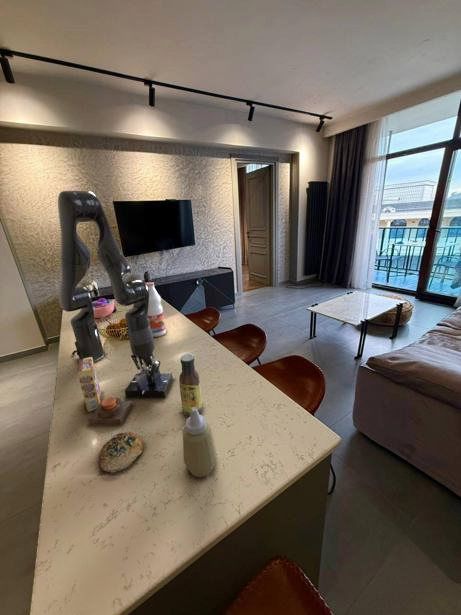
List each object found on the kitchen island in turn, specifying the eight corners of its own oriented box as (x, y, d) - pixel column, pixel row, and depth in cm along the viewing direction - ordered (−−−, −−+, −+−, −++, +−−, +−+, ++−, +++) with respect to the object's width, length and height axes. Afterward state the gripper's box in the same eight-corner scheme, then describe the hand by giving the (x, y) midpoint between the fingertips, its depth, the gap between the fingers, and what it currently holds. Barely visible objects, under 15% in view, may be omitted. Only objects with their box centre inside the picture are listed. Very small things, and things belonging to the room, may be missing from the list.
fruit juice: (166, 328, 142) (159, 280, 132) (165, 336, 134) (157, 284, 124) (149, 330, 141) (140, 281, 131) (147, 338, 132) (137, 286, 122)
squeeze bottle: (186, 453, 67) (177, 398, 61) (217, 450, 67) (211, 395, 61) (183, 484, 59) (173, 424, 53) (218, 480, 60) (212, 420, 54)
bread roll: (113, 435, 74) (111, 422, 72) (150, 440, 73) (149, 428, 71) (89, 472, 64) (86, 459, 62) (132, 480, 63) (130, 466, 61)
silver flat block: (140, 389, 88) (138, 376, 86) (137, 387, 89) (134, 375, 87) (160, 375, 95) (158, 363, 93) (157, 374, 96) (154, 362, 94)
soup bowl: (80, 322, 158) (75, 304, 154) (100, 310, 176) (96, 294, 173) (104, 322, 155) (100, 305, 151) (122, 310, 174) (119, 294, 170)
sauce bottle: (179, 415, 80) (170, 360, 73) (189, 401, 86) (182, 350, 79) (197, 420, 78) (190, 364, 71) (206, 406, 83) (200, 353, 76)
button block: (90, 424, 78) (87, 414, 77) (103, 406, 86) (101, 396, 84) (121, 424, 78) (118, 414, 76) (132, 406, 85) (130, 396, 84)
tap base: (124, 401, 88) (122, 393, 87) (139, 377, 100) (137, 370, 99) (163, 401, 87) (162, 393, 85) (174, 377, 99) (173, 370, 98)
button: (100, 410, 79) (99, 406, 78) (106, 401, 82) (105, 397, 82) (112, 410, 78) (111, 406, 78) (118, 401, 82) (117, 397, 82)
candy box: (102, 408, 85) (91, 369, 80) (87, 412, 83) (75, 373, 78) (102, 392, 93) (92, 356, 87) (88, 396, 91) (77, 359, 86)
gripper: (119, 338, 87) (129, 381, 93) (145, 348, 80) (154, 393, 86) (137, 330, 93) (145, 370, 99) (163, 338, 85) (170, 381, 91)
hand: (149, 381), depth 92 cm, fingers closed on silver flat block, 2 cm apart
